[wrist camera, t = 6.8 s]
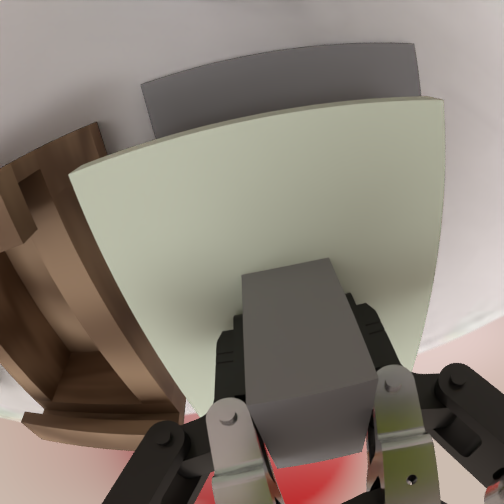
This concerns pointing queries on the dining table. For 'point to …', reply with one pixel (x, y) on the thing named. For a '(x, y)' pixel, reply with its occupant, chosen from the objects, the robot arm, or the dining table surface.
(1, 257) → the walnut box
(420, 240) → the cover plate
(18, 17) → the dining table surface
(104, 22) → the dining table surface
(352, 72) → the rubber mat
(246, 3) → the dining table surface
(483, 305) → the dining table surface
